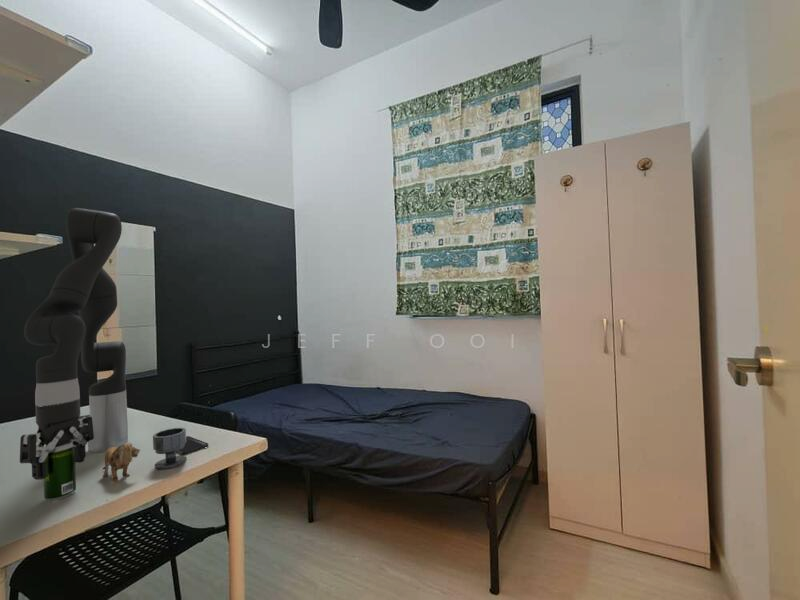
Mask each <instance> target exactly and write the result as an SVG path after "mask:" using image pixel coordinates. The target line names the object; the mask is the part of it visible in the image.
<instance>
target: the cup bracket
mask: <svg viewBox="0 0 800 600" xmlns="http://www.w3.org/2000/svg"><path fill="white" fill-rule="evenodd" d="M186 436H187V429H186V428H184V427H174V428H168V429H167V428H166V429H164V430H160V431H158V432H155V433H154V434H153V436H152V444H153V445H152V447H153V450H154V451H155V454H157V455H164V456H165V457H164V458H162V459H161V460H158V461H157V462H156V463H155V464H154V469H155V470H157V471H159V470H160V471H162V470H163V471H164V470H169V469H174V468H177V467H180V466H181V465H183V463H184V464H185V463H186V462H187V461H186V460H187V455H177V453H176V451H178V450H181V449H182V448H184V447H185V443H186Z"/></svg>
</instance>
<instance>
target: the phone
mask: <svg viewBox="0 0 800 600" xmlns="http://www.w3.org/2000/svg"><path fill="white" fill-rule="evenodd" d="M205 447H207V448H209V443H208V442H206V441H202V440H200V439H197V438H194V437H191V436H189V435H188V436H187V435H186V443H185V447H184V448H182V449H181V450H178V451H176V454H177V453H178V455H179V454H180V455H179V456H186V455H185V454H187V455H189V454H188V453H190V454H192V453H191V452H193V453H195V452H194V451H197V450H199V451H201V450H200V449H202V450H204V449H206V448H205ZM203 448H204V449H203Z"/></svg>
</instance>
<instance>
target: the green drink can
mask: <svg viewBox="0 0 800 600" xmlns="http://www.w3.org/2000/svg"><path fill="white" fill-rule="evenodd" d="M46 446H47V445H44V447H46ZM44 461H46V478H44V479H43V498H44V500H45V501H46V502H58V501H60V500H64V499H66V498H68V497H71V496H72V495H74V493H76V490H77V481H76V480H77V478H76V477H77V476H76V463H75V445H74V443H73V440H70V441H69V442H65V443H62V444H61V445H58V446H55V447H54V449H53V450H52V451H51V452H49V454H48V455H47V457H46V459H45V460H44Z"/></svg>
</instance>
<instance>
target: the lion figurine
mask: <svg viewBox="0 0 800 600" xmlns="http://www.w3.org/2000/svg"><path fill="white" fill-rule="evenodd" d="M140 451H141V449H139V448H136V447H135V446H133V444H132V443H131V442H128V443H126V444H123V445H121V446H119V447H118V448H117V447H111V448H110V449H108V450H107V451H105V452H104V453H105V454H104V467H102V470H104V473H103V474H102V477H103V478H106V477H107V476H109V475H110V474H109V466H110V467H111V468H110V471H111V477H112V480H111V482H114V483H116V482H119V477H118V473H117V471H118V470H122V474H121V475H122V477H123V478H124V477H126V478H129V476H130V474H129V473H128V467H129V465H130V464H131V462H133V458H138V456H139V454H140Z"/></svg>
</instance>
